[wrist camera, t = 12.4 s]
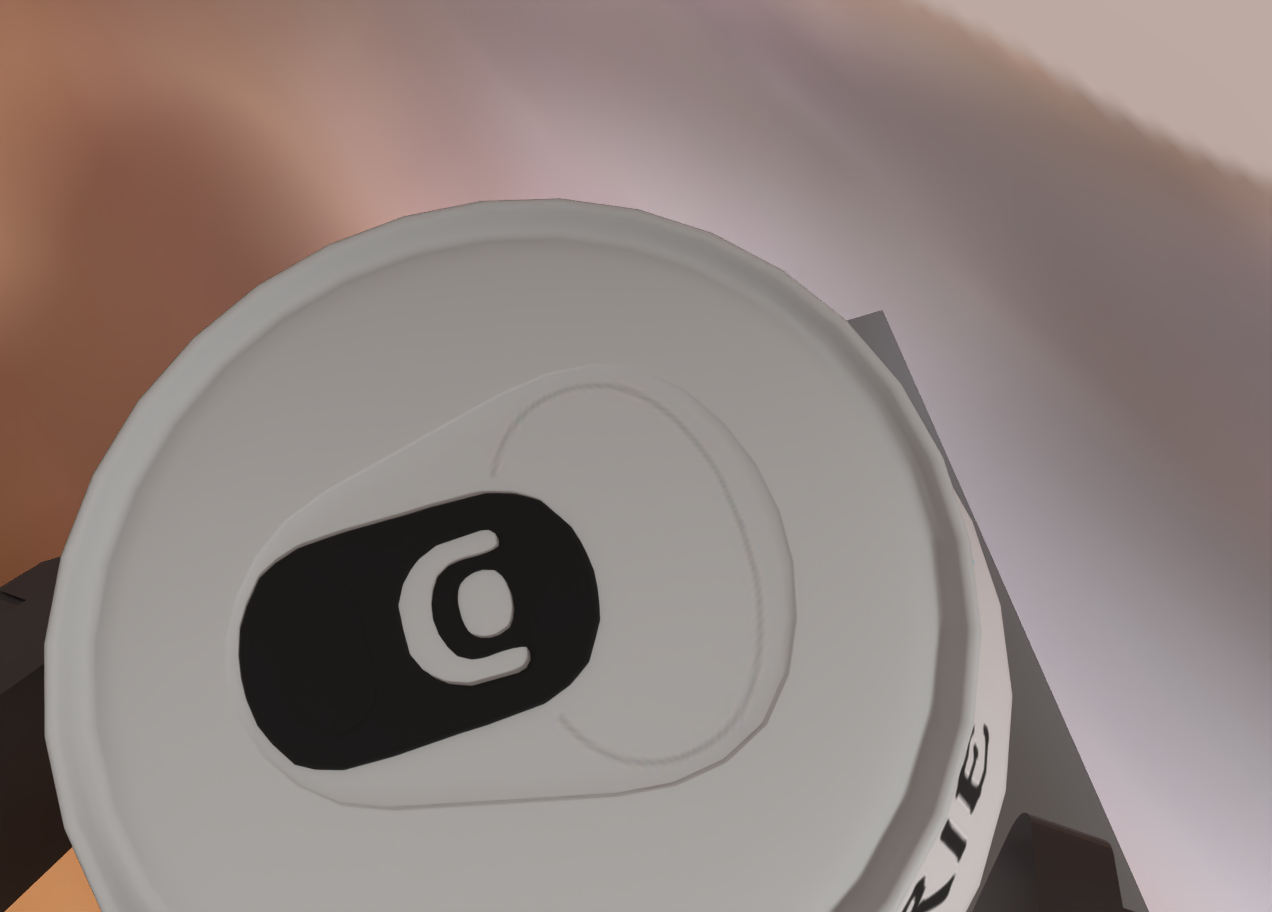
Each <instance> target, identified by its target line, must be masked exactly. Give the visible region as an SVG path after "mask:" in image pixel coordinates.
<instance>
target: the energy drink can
mask: <svg viewBox="0 0 1272 912" xmlns="http://www.w3.org/2000/svg"><path fill="white" fill-rule="evenodd" d="M44 701H45V741H46V746H47V750H48V755H49V760H50V764H51V769H52V774H53V778H54V783H55V788H56V792H57V797H58V802H59V806H60V811H61V816H62V821H63V825H64V829H65V831H66V834H67V836H68V838H69V840H70V843H71V845H72V847H73V849H74V851H75V854H76V856H77V858H78V860H79V863H80V865H81V867H82V869H83V871H84V874H85V876H86V878H87V880H88V883H89V885H90V887H91V889H92V892H93V894H94V896H95V898H96V900H97V903H98V905H99V907H100V909H101V912H966V911H967V909H968V907H969V905H970V903H971V901H972V899H973V897H974V895H975V893H976V892H977V890H978V888H979V886H980V882H981V879H982V875H983V871H984V868H985V864H986V861H987V857H988V853H989V850H990V846H991V842H992V839H993V835H994V832H995V828H996V824H997V821H998V817H999V814H1000V810H1001V806H1002V803H1003V799H1004V795H1005V792H1006V781H1007V767H1008V752H1009V738H1010V724H1011V710H1012V689H1011V681H1010V674H1009V666H1008V658H1007V651H1006V643H1005V635H1004V628H1003V620H1002V612H1001V605H1000V602H999V599H998V596H997V593H996V590H995V587H994V584H993V581H992V578H991V575H990V572H989V569H988V566H987V563H986V560H985V557H984V554H983V551H982V549H981V546H980V543H979V540H978V537H977V534H976V531H975V528H974V525H973V522H972V520H971V518H970V517H969V515H968V513H967V511H966V510H965V508H964V506H963V504H962V502H961V501H960V499H959V497H958V495H957V494H956V492H955V490H954V488H953V486H952V483H951V480H950V477H949V474H948V471H947V468H946V465H945V462H944V459H943V457H942V455H941V453H940V451H939V450H938V448H937V446H936V444H935V443H934V441H933V439H932V437H931V436H930V434H929V432H928V430H927V429H926V427H925V425H924V423H923V422H922V420H921V418H920V416H919V415H918V413H917V411H916V409H915V408H914V406H913V404H912V402H911V401H910V399H909V397H908V395H907V394H906V392H905V390H904V388H903V387H902V385H901V383H900V382H899V381H898V380H897V379H896V378H895V376H894V375H893V374H892V373H891V372H890V371H889V369H888V368H887V367H886V366H885V365H884V364H883V362H882V361H881V360H880V359H879V358H878V357H877V355H876V354H875V353H874V352H873V351H872V350H871V348H870V347H869V346H868V345H867V344H866V343H865V342H864V340H863V339H862V338H861V337H860V336H859V335H858V333H857V332H856V331H855V330H854V329H853V328H852V326H851V325H850V324H849V323H848V322H847V321H846V320H845V319H844V318H842V317H841V316H840V315H839V314H837V313H836V312H835V311H833V310H832V309H831V308H830V307H828V306H827V305H826V304H825V303H823V302H822V301H821V300H820V299H818V298H817V297H816V296H815V295H813V294H812V293H811V292H809V291H808V290H807V289H806V288H804V287H803V286H802V285H801V284H799V283H798V282H797V281H796V280H794V279H793V278H792V277H791V276H789V275H788V274H787V273H786V272H784V271H783V270H781V269H779V268H777V267H775V266H773V265H771V264H770V263H768V262H766V261H764V260H762V259H760V258H758V257H756V256H755V255H753V254H751V253H749V252H747V251H745V250H743V249H741V248H739V247H738V246H736V245H734V244H732V243H730V242H728V241H726V240H724V239H723V238H721V237H719V236H717V235H715V234H713V233H710V232H707V231H704V230H701V229H698V228H695V227H691V226H688V225H685V224H682V223H679V222H676V221H673V220H670V219H666V218H663V217H660V216H657V215H654V214H651V213H648V212H645V211H641V210H638V209H631V208H624V207H617V206H610V205H603V204H596V203H588V202H581V201H574V200H567V199H531V200H500V201H479V202H474V203H469V204H464V205H459V206H454V207H449V208H444V209H439V210H434V211H429V212H424V213H419V214H414V215H409V216H404V217H401V218H398V219H396V220H393V221H390V222H388V223H385V224H382V225H380V226H377V227H374V228H372V229H369V230H366V231H364V232H361V233H358V234H356V235H353V236H350V237H348V238H345V239H342V240H340V241H337V242H334V243H332V244H329V245H327V246H325V247H324V248H322V249H320V250H318V251H317V252H315V253H313V254H311V255H310V256H308V257H306V258H304V259H303V260H301V261H299V262H298V263H296V264H294V265H292V266H291V267H289V268H287V269H285V270H284V271H282V272H280V273H278V274H277V275H275V276H273V277H271V278H270V279H268V280H266V281H264V282H263V283H261V284H259V285H257V286H256V287H255V288H254V289H253V290H251V291H250V292H249V293H248V294H246V295H245V296H244V297H243V298H242V299H240V300H239V301H238V302H237V303H235V304H234V305H233V306H232V307H231V308H229V309H228V310H227V311H226V312H224V313H223V314H222V315H221V316H220V317H218V318H217V319H216V320H215V321H213V322H212V323H211V324H210V325H209V326H207V327H206V328H205V329H204V330H202V331H201V332H200V333H199V334H198V335H196V336H195V337H194V338H193V339H192V340H191V341H190V342H189V344H188V345H187V346H186V347H185V348H184V349H183V350H182V352H181V353H180V354H179V355H178V356H177V357H176V358H175V359H174V361H173V362H172V363H171V364H170V365H169V366H168V367H167V369H166V370H165V371H164V372H163V373H162V374H161V375H160V377H159V378H158V379H157V380H156V381H155V382H154V383H153V385H152V386H151V387H150V388H149V389H148V390H147V391H146V392H145V394H144V395H143V396H142V397H141V398H140V399H139V400H138V402H137V403H136V405H135V407H134V408H133V410H132V412H131V413H130V415H129V416H128V418H127V420H126V421H125V423H124V425H123V426H122V428H121V430H120V431H119V433H118V434H117V436H116V438H115V439H114V441H113V443H112V444H111V446H110V448H109V449H108V451H107V452H106V454H105V456H104V457H103V459H102V461H101V462H100V464H99V466H98V467H97V469H96V470H95V472H94V474H93V476H92V478H91V481H90V483H89V486H88V489H87V491H86V494H85V496H84V499H83V501H82V504H81V506H80V509H79V511H78V514H77V517H76V519H75V522H74V524H73V527H72V529H71V532H70V534H69V537H68V540H67V542H66V545H65V547H64V550H63V552H62V555H61V558H60V564H59V569H58V574H57V580H56V585H55V590H54V595H53V601H52V606H51V611H50V616H49V622H48V627H47V632H46V638H45V643H44Z"/></svg>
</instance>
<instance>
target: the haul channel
mask: <svg viewBox="0 0 1272 912" xmlns="http://www.w3.org/2000/svg"><path fill="white" fill-rule="evenodd" d="M847 322H848V323H849V324H850V325H851V326H852V328H853V329H854V330H855V331H856V332H857V333H858V335H859V336H860V337H861V338H862V339H863V340H864V342H865V343H866V344H867V345H868V346H869V347H870V348H871V350H872V351H873V352H874V353H875V354H876V355H877V357H878V358H879V359H880V360H881V361H882V362H883V364H884V365H885V366H886V367H887V368H888V369H889V371H890V372H891V373H892V374H893V375H894V376H895V378H896V379H897V380H898V381H899V382H900V383H901V385H902V387H903V388H904V390H905V392H906V394H907V395H908V397H909V399H910V401H911V402H912V404H913V406H914V408H915V409H916V411H917V413H918V415H919V416H920V418H921V420H922V422H923V423H924V425H925V427H926V429H927V430H928V432H929V434H930V436H931V437H932V439H933V441H934V443H935V444H936V446H937V448H938V450H939V451H940V453H941V455H942V457H943V459H944V462H945V465H946V468H947V471H948V474H949V477H950V480H951V483H952V486H953V488H954V490H955V492H956V494H957V495H958V497H959V499H960V501H961V502H962V504H963V506H964V508H965V510H966V511H967V513H968V515H969V517H970V518H971V520H972V522H973V525H974V528H975V531H976V534H977V537H978V540H979V543H980V546H981V549H982V551H983V554H984V557H985V560H986V563H987V566H988V569H989V572H990V575H991V578H992V581H993V584H994V587H995V590H996V593H997V596H998V599H999V602H1000V605H1001V612H1002V620H1003V628H1004V635H1005V643H1006V651H1007V658H1008V666H1009V674H1010V681H1011V689H1012V710H1011V724H1010V738H1009V752H1008V767H1007V781H1006V792H1005V795H1004V799H1003V803H1002V806H1001V810H1000V814H999V817H998V821H997V824H996V828H995V832H994V835H993V839H992V842H991V846H990V850H989V853H988V857H987V861H986V864H985V868H984V871H983V875H982V879H981V882H980V886H979V888H978V890H977V892H976V893H975V895H974V897H973V899H972V901H971V903H970V905H969V907H968V909H967V911H966V912H972V911H973V908H974V906H975V904H976V902H977V900H978V898H979V896H980V893H981V891H982V889H983V887H984V885H985V883H986V880H987V878H988V876H989V874H990V872H991V870H992V868H993V865H994V863H995V861H996V859H997V857H998V855H999V853H1000V850H1001V848H1002V846H1003V844H1004V842H1005V840H1006V837H1007V835H1008V833H1009V831H1010V829H1011V827H1012V825H1013V823H1014V822H1015V820H1016V819H1017V818H1018V817H1019V815H1021V814H1022V813H1028V814H1031V815H1034V816H1037V817H1040V818H1043V819H1046V820H1049V821H1051V822H1054V823H1057V824H1060V825H1063V826H1066V827H1069V828H1072V829H1075V830H1078V831H1081V832H1084V833H1087V834H1090V835H1092V836H1095V837H1098V838H1101V839H1104V840H1107V841H1108V842H1109V843H1110V845H1111V847H1112V849H1113V853H1114V858H1115V864H1116V870H1117V875H1118V881H1119V887H1120V893H1121V898H1122V904H1123V908H1126V909H1129V910H1131V911H1134V912H1149V911H1148V909H1147V906H1146V904H1145V902H1144V899H1143V897H1142V895H1141V893H1140V890H1139V888H1138V886H1137V884H1136V881H1135V879H1134V877H1133V875H1132V872H1131V870H1130V868H1129V866H1128V863H1127V861H1126V859H1125V857H1124V854H1123V852H1122V850H1121V848H1120V845H1119V843H1118V841H1117V839H1116V836H1115V834H1114V832H1113V830H1112V827H1111V825H1110V823H1109V821H1108V818H1107V816H1106V814H1105V812H1104V809H1103V807H1102V805H1101V802H1100V800H1099V798H1098V796H1097V793H1096V791H1095V789H1094V787H1093V784H1092V782H1091V780H1090V778H1089V775H1088V773H1087V771H1086V769H1085V766H1084V764H1083V762H1082V760H1081V757H1080V755H1079V753H1078V751H1077V748H1076V746H1075V744H1074V742H1073V739H1072V737H1071V735H1070V733H1069V730H1068V728H1067V726H1066V724H1065V721H1064V719H1063V717H1062V715H1061V712H1060V710H1059V708H1058V705H1057V703H1056V701H1055V699H1054V696H1053V694H1052V692H1051V690H1050V687H1049V685H1048V683H1047V681H1046V678H1045V676H1044V674H1043V672H1042V669H1041V667H1040V665H1039V663H1038V660H1037V658H1036V656H1035V654H1034V651H1033V649H1032V647H1031V645H1030V642H1029V640H1028V638H1027V636H1026V633H1025V631H1024V629H1023V627H1022V624H1021V622H1020V620H1019V618H1018V615H1017V613H1016V611H1015V608H1014V606H1013V604H1012V602H1011V599H1010V597H1009V595H1008V593H1007V590H1006V588H1005V586H1004V584H1003V581H1002V579H1001V577H1000V575H999V572H998V570H997V568H996V566H995V563H994V561H993V559H992V557H991V554H990V552H989V550H988V548H987V545H986V543H985V541H984V539H983V536H982V534H981V532H980V530H979V527H978V525H977V523H976V521H975V518H974V516H973V514H972V511H971V509H970V507H969V505H968V502H967V500H966V498H965V496H964V493H963V491H962V489H961V487H960V484H959V482H958V480H957V478H956V475H955V473H954V471H953V469H952V466H951V464H950V462H949V460H948V457H947V455H946V453H945V451H944V448H943V446H942V444H941V442H940V439H939V437H938V435H937V433H936V430H935V428H934V426H933V423H932V421H931V419H930V417H929V414H928V412H927V410H926V408H925V405H924V403H923V401H922V399H921V396H920V394H919V392H918V390H917V387H916V385H915V383H914V381H913V378H912V376H911V374H910V372H909V369H908V367H907V365H906V363H905V360H904V358H903V356H902V354H901V351H900V349H899V347H898V345H897V342H896V340H895V338H894V336H893V333H892V331H891V329H890V326H889V324H888V322H887V320H886V317H885V315H884V313H883V311H878V312H875V313H871V314H868V315H865V316H861V317H858V318H855V319H851V320H848V321H847Z"/></svg>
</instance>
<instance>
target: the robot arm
mask: <svg viewBox="0 0 1272 912" xmlns="http://www.w3.org/2000/svg"><path fill="white" fill-rule="evenodd" d="M60 558H61V557H58V558H55V559H51V560H48V561H45V562H41V563H40V564H38V565H36V566H35V567H33V568H31V569H30V570H28V571H27V572H25V573H23V574H22V575H20V576H18V577H17V578H15V579H14V580H12V581H10V582H9V583H7V584H5V585H4V586H2V587H0V912H4V911H6V910H7V909H8V908H9V907H10V906H11V905H12V904H13V903H14V902H15V901H16V900H17V899H18V898H19V897H20V896H21V895H22V894H23V893H24V892H25V891H26V890H28V889H29V888H30V887H31V886H32V885H33V884H34V883H35V882H36V881H37V880H38V879H39V878H40V877H41V876H42V875H43V874H44V873H45V872H46V871H47V870H49V869H50V868H51V867H52V866H53V865H54V864H55V863H56V862H57V861H58V860H59V859H60V858H61V857H62V856H63V855H64V854H65V853H66V852H67V851H68V850H69V849H71V848H72V845H71V843H70V840H69V838H68V836H67V834H66V831H65V829H64V825H63V821H62V816H61V811H60V806H59V802H58V797H57V792H56V788H55V783H54V778H53V774H52V769H51V764H50V760H49V755H48V750H47V746H46V741H45V701H44V643H45V638H46V632H47V627H48V622H49V616H50V611H51V606H52V601H53V595H54V590H55V585H56V580H57V574H58V569H59V564H60ZM972 912H1134V911H1131V910H1129V909H1126V908H1123V904H1122V898H1121V893H1120V887H1119V881H1118V875H1117V870H1116V864H1115V858H1114V853H1113V849H1112V847H1111V845H1110V843H1109V842H1108V841H1107V840H1104V839H1101V838H1098V837H1095V836H1092V835H1090V834H1087V833H1084V832H1081V831H1078V830H1075V829H1072V828H1069V827H1066V826H1063V825H1060V824H1057V823H1054V822H1051V821H1049V820H1046V819H1043V818H1040V817H1037V816H1034V815H1031V814H1028V813H1022V814H1021V815H1019V817H1018V818H1017V819H1016V820H1015V822H1014V823H1013V825H1012V827H1011V829H1010V831H1009V833H1008V835H1007V837H1006V840H1005V842H1004V844H1003V846H1002V848H1001V850H1000V853H999V855H998V857H997V859H996V861H995V863H994V865H993V868H992V870H991V872H990V874H989V876H988V878H987V880H986V883H985V885H984V887H983V889H982V891H981V893H980V896H979V898H978V900H977V902H976V904H975V906H974V908H973V911H972Z"/></svg>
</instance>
